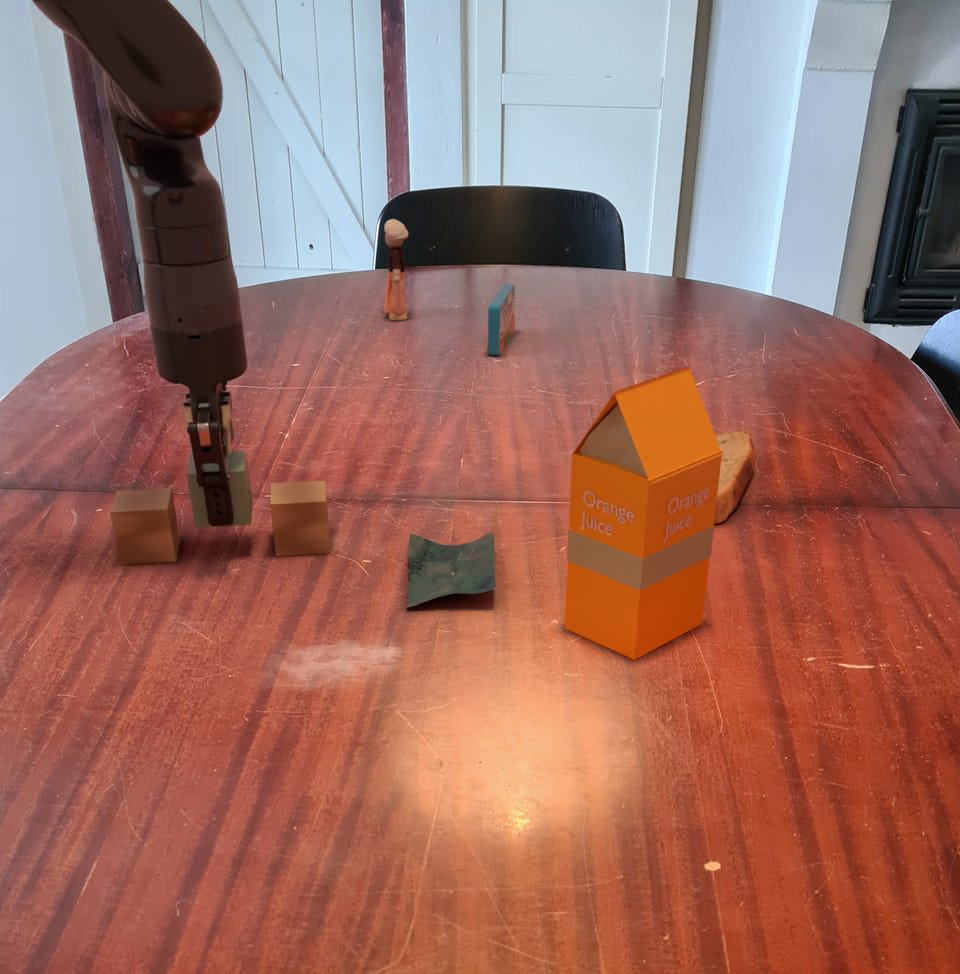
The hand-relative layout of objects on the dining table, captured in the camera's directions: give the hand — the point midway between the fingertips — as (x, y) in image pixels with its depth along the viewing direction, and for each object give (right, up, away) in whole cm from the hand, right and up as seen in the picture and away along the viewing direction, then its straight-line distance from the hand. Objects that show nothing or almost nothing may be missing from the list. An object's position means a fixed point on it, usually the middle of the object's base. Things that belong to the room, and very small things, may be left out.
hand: (223, 511), depth 112 cm
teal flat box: (+26, +37, +54) cm, 71 cm away
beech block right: (+7, -2, +3) cm, 8 cm away
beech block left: (-7, -3, +1) cm, 8 cm away
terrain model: (+21, -7, -3) cm, 22 cm away
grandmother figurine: (+12, +46, +64) cm, 80 cm away
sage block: (0, 0, 0) cm, 0 cm away
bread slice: (+46, +7, +14) cm, 49 cm away
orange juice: (+36, -13, -10) cm, 40 cm away
